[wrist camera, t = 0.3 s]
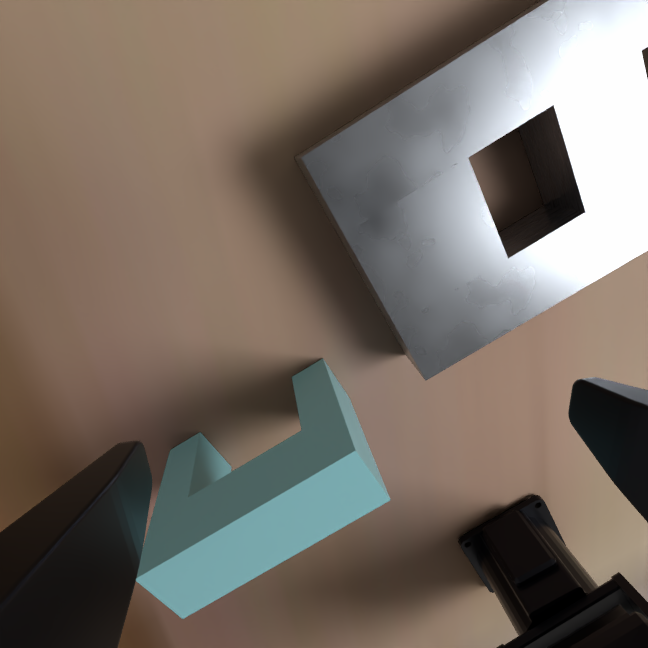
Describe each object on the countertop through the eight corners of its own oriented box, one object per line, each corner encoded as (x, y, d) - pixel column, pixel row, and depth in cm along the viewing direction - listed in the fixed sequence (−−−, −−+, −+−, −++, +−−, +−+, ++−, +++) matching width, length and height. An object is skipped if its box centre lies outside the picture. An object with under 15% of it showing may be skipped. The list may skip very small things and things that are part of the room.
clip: (348, 397, 25) (390, 500, 17) (202, 483, 25) (182, 619, 18) (322, 358, 24) (355, 450, 16) (170, 449, 24) (134, 579, 17)
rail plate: (797, 122, 23) (872, 118, 20) (405, 355, 24) (425, 380, 21) (776, -150, 18) (870, -204, 15) (294, 157, 20) (301, 157, 17)
